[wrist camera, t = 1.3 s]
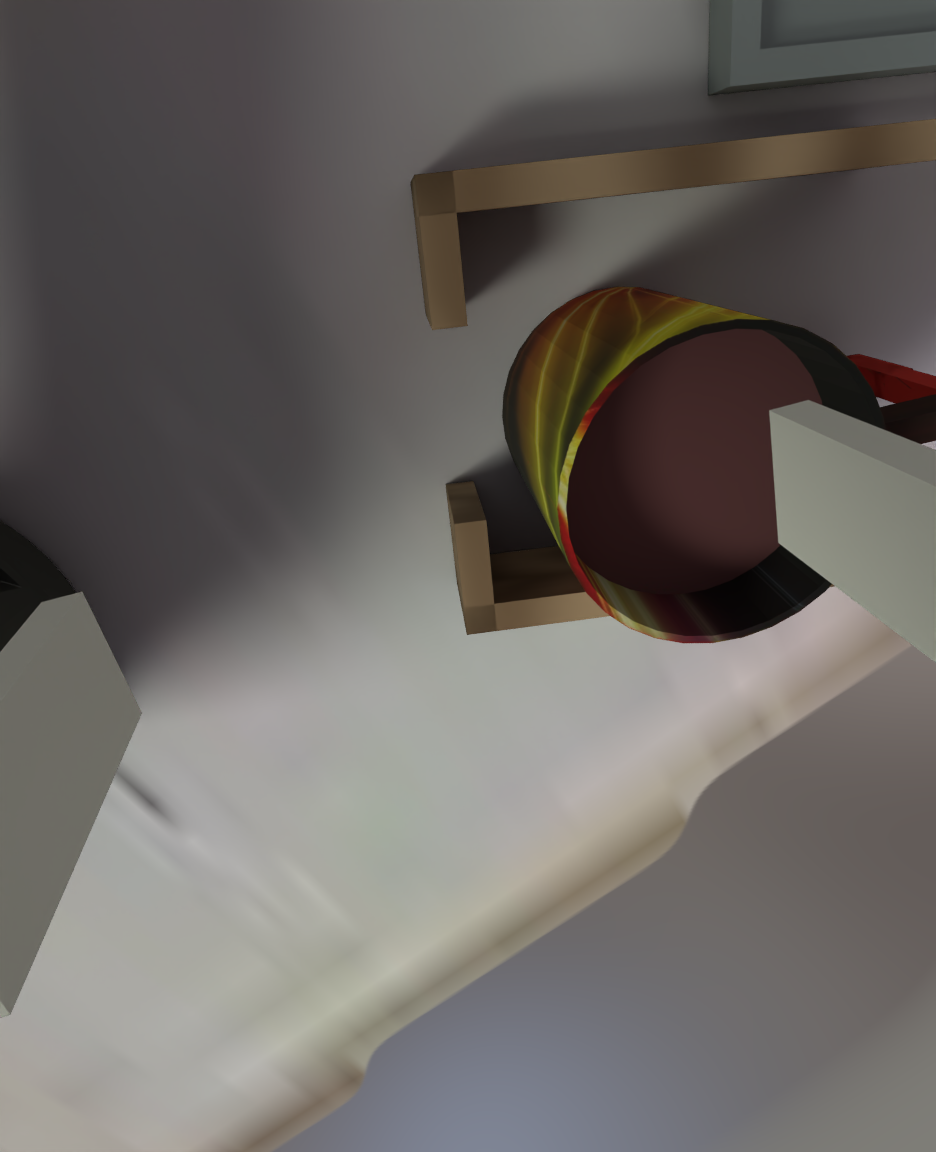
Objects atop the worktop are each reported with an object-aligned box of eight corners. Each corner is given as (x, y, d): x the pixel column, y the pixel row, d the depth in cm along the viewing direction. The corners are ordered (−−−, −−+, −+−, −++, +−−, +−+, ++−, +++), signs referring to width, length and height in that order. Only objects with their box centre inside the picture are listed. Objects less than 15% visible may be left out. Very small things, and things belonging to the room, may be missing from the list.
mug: (852, 365, 34) (1071, 432, 23) (584, 556, 36) (669, 698, 26) (743, 160, 30) (943, 124, 19) (456, 387, 33) (489, 469, 22)
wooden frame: (457, 583, 36) (466, 634, 32) (410, 182, 30) (414, 174, 25) (825, 535, 37) (887, 579, 32) (861, 134, 30) (945, 118, 26)
